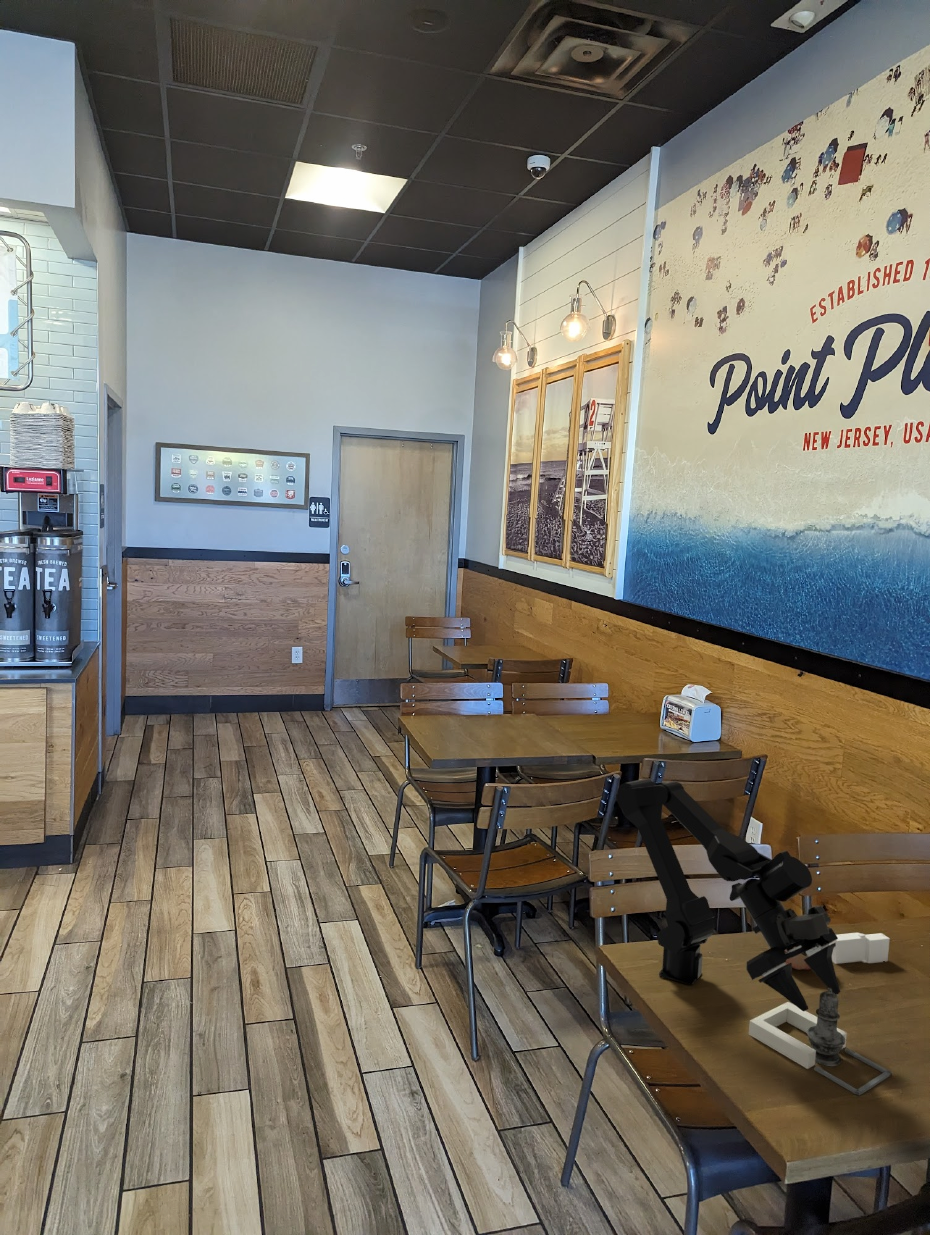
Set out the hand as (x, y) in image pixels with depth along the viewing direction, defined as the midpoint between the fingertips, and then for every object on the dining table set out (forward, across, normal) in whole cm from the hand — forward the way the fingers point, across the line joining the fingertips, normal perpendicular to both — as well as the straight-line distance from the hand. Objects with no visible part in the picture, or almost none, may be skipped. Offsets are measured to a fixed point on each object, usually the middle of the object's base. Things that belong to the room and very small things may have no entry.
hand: (822, 1001), depth 143 cm
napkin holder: (-3, +36, +16) cm, 40 cm away
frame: (+11, 0, +2) cm, 11 cm away
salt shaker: (+7, 0, +6) cm, 9 cm away
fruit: (-7, +23, +19) cm, 31 cm away
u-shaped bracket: (+3, 0, +9) cm, 10 cm away
